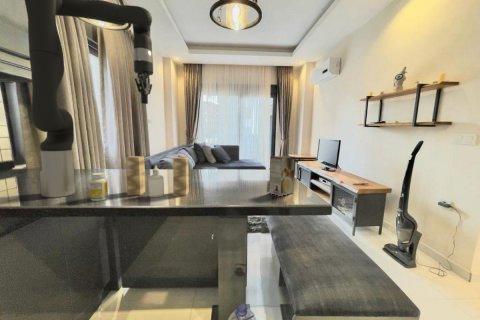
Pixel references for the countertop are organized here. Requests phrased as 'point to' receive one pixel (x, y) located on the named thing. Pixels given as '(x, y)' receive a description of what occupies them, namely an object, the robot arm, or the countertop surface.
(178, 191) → the post right
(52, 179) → the robot arm
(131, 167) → the post left
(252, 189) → the countertop surface
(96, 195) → the supplement bottle
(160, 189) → the eye dropper bottle
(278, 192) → the coffee box
